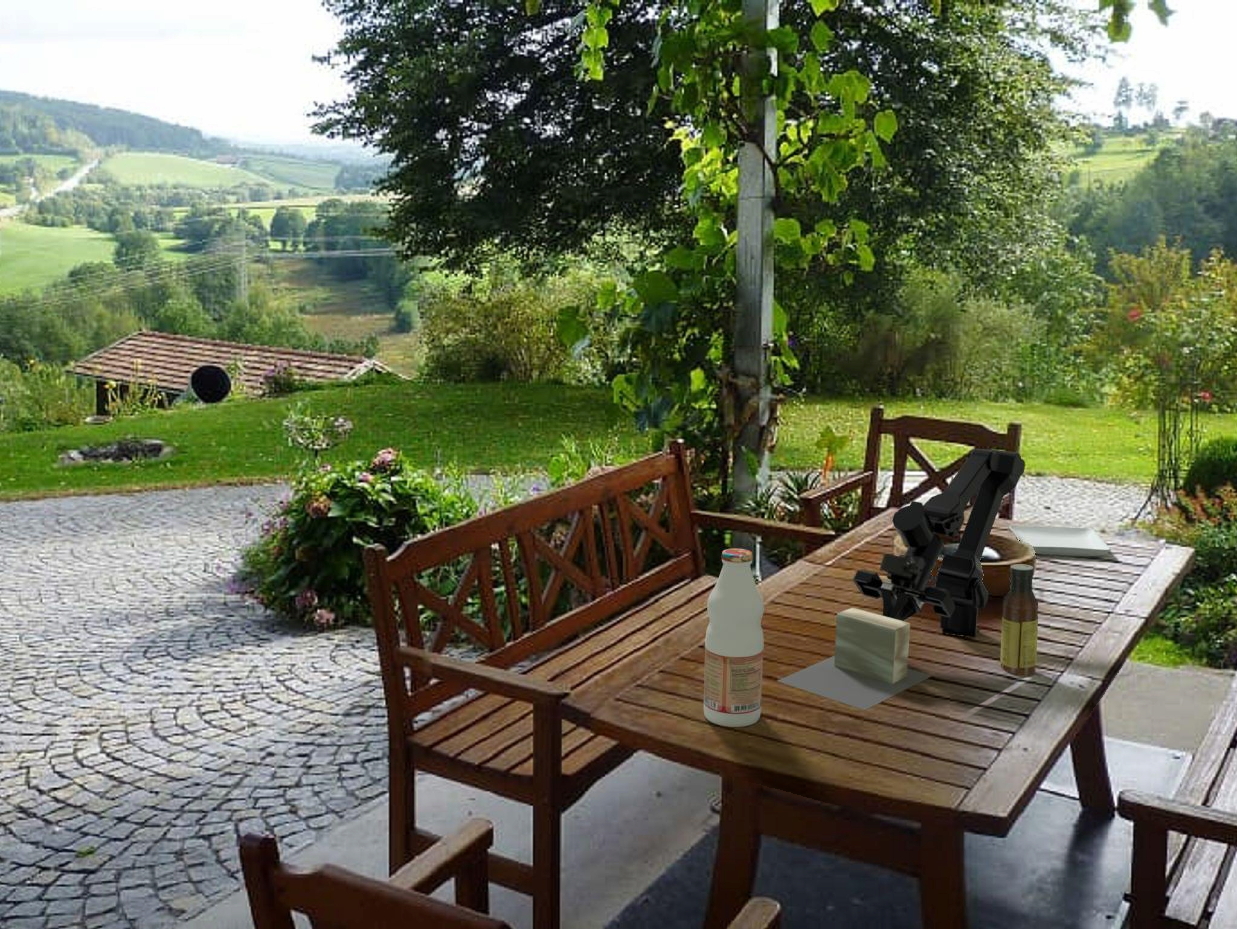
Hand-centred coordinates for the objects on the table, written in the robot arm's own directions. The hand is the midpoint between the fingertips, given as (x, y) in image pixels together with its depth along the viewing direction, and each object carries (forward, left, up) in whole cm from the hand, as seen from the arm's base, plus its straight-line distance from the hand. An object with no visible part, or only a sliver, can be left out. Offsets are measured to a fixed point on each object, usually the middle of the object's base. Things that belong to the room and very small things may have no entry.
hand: (883, 631), depth 213 cm
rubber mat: (+4, +8, -7) cm, 11 cm away
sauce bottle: (-23, -7, -7) cm, 26 cm away
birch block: (+2, +4, -7) cm, 8 cm away
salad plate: (-32, -102, -8) cm, 108 cm away
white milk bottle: (+21, +31, -7) cm, 38 cm away
